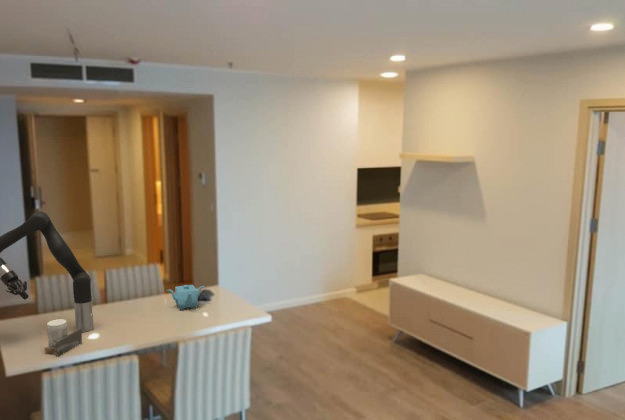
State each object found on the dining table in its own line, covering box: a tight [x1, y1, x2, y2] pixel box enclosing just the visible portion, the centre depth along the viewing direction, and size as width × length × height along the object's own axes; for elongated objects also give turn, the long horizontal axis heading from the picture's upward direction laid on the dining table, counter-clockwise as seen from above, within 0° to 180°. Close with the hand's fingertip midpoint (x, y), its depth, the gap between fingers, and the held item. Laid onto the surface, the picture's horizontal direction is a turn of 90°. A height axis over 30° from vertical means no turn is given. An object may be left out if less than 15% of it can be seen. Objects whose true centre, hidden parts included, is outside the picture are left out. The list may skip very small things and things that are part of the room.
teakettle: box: [166, 284, 205, 311], centre depth 342 cm, size 19×19×15 cm
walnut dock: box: [44, 329, 83, 358], centre depth 274 cm, size 9×18×8 cm, turn 166°
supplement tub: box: [46, 318, 69, 348], centre depth 274 cm, size 10×10×15 cm
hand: (26, 298), depth 278 cm, fingers closed
